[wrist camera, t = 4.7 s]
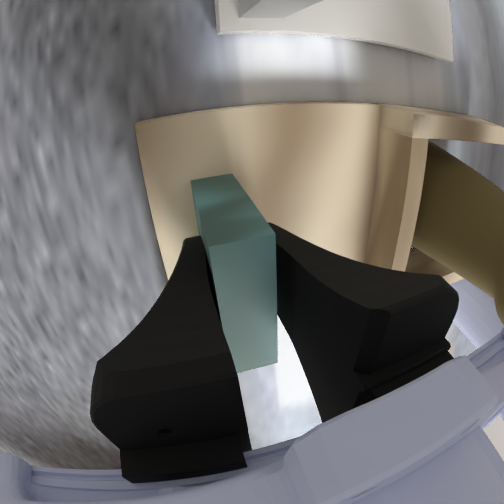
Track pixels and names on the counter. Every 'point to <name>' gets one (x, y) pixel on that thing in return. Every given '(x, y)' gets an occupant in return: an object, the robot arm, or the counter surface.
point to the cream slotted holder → (291, 194)
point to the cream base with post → (347, 21)
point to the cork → (462, 223)
